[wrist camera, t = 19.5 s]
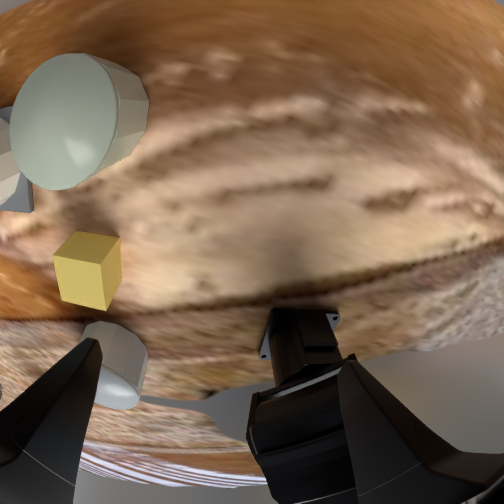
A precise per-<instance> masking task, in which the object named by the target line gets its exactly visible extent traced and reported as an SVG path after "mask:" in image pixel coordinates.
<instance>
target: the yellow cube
mask: <svg viewBox="0 0 504 504" xmlns="http://www.w3.org/2000/svg"><path fill="white" fill-rule="evenodd" d="M53 261H54V266H55V271H56V276H57V281H58V286H59V290H60V294H61V298H62V301H66V302H70V303H74V304H78V305H82V306H86V307H90V308H95V309H99V310H104V311H107V309H108V307H109V305H110V303H111V301H112V299H113V297H114V295H115V293H116V291H117V289H118V287H119V285H120V283H121V281H122V274H121V255H120V237H114V236H107V235H100V234H94V233H87V232H80V231H76V232H75V233H74V234H73V235H72V236H71V237H70V238H69V239H68V240H67V241H66V242H65V243H64V244H63V245H62V246H61V247H60V248H59V249H58V250H57V251H56V252H55V253H54V254H53Z"/></svg>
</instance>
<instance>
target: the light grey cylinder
mask: <svg viewBox="0 0 504 504" xmlns="http://www.w3.org/2000/svg"><path fill="white" fill-rule="evenodd" d="M87 337H91V338H95V339H98V341H99V343H100V347H101V350H102V354H103V360H102V365H101V370H100V375H99V381H98V386H97V392H96V396H95V400H94V402H95V403H97V404H99V405H102V406H105V407H108V408H113V409H130V408H133V407H135V406H136V405H137V403H138V400H139V399H140V396H141V391H142V387H143V382H144V378H145V373H146V369H147V365H148V360H149V359H148V352H147V347H146V346H145V345H144V344H143V343H142V341H141V340H140V339H139V338H138V337H137V335H136V334H134V333H132V332H130V331H129V330H127V329H125V328H123V327H122V326H120V325H118V324H113V323H108V322H103V321H98V322H95V323H91V324H88V325H87V326H86V328H85V330H84V332H83V334H82V336H81V338H80V340H79V342H78V344H79V343H81V342H82V341H83V340H84V339H85V338H87ZM78 344H77V345H78Z"/></svg>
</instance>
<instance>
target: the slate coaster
mask: <svg viewBox="0 0 504 504" xmlns="http://www.w3.org/2000/svg"><path fill="white" fill-rule="evenodd" d="M12 109H13V106H10V107H5V108H1V109H0V118H2V119H3V120H5V121H6V122H7V123H8V124H9V125H10V118H11V113H12ZM0 210H3V211H14V212H25V213H31V212H32V211H34V206H33V195H32V182H31V181H30V180H29V179H28V178H27V177H26V176H25V175H24V174H23V173H22V171H21V173H20V176H19V180H18V183H17V186H16V190H15V193H13V194H12V195H11V196H10V197H9V198H8V199H7V200H6V201H5V202H4V203H3V204H1V205H0Z"/></svg>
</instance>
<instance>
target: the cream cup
mask: <svg viewBox="0 0 504 504" xmlns="http://www.w3.org/2000/svg"><path fill="white" fill-rule="evenodd" d="M20 173H21V170H20V168H19V167H18V165H17V163H16V161H15V159H14V156H13V153H12V149H11V144H10V125H9V124H8V123H7V122H6V121H5V120H3V119H2V118H0V205H1V204H3V203H4V202H5V201H6V200H7V199H8V198H9V197H10V196H11V195H12V194H13V193H15V190H16V186H17V183H18V180H19V176H20Z"/></svg>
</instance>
